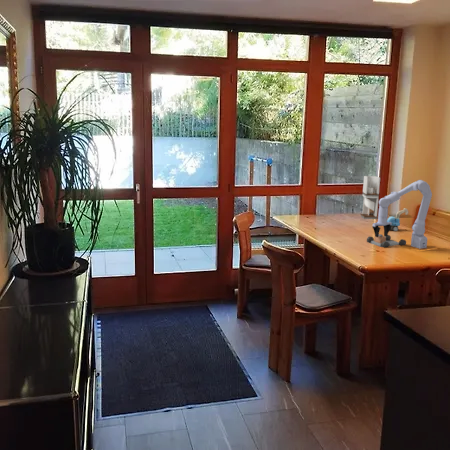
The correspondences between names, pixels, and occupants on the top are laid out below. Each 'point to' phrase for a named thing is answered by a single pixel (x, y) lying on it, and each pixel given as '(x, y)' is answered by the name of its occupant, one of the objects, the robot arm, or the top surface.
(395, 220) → the toy excavator
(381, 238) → the block
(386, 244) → the chassis
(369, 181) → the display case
